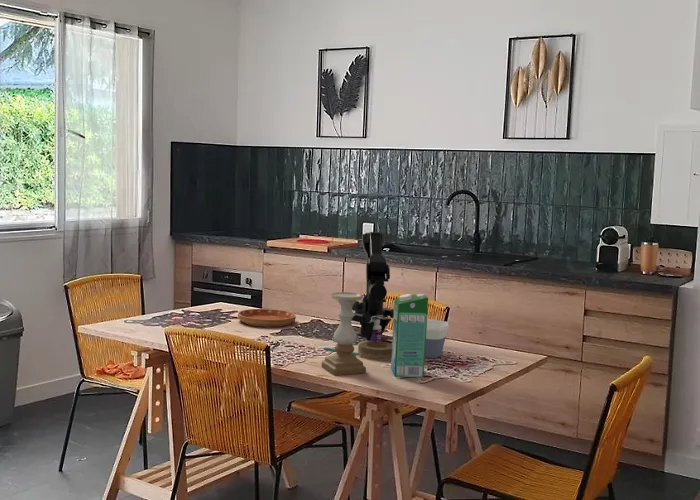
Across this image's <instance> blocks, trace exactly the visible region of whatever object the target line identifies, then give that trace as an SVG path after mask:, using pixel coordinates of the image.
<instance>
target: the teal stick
mask: <svg viewBox="0 0 700 500" xmlns="http://www.w3.org/2000/svg"><path fill="white" fill-rule="evenodd" d="M323 350H324V351H325V350H326V351H330V352H336V351H335V348H332V347H323ZM336 353H337V352H336ZM352 354H353V355H355V356H359V353H358V352H356V351H353V352H352Z"/></svg>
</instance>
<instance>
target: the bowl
mask: <svg viewBox="0 0 700 500" xmlns="http://www.w3.org/2000/svg"><path fill="white" fill-rule="evenodd" d="M449 328H450V324H449V322H448V321H444V320H439V319H432V318H431V319H429V318H427V328H426V345H425V359H431V360H432V359H437V358H439V357H440V356H441V355H442V353H443V349H444V344H445V343H446V338H447V335H448V331H449Z"/></svg>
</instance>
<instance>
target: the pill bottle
mask: <svg viewBox="0 0 700 500" xmlns="http://www.w3.org/2000/svg"><path fill="white" fill-rule="evenodd" d="M372 322H375V323H374V327H373V330H372V334H371V338H370V340H367V339H366V338H365V342H368V341H377V342H382V335H381V326H380V325H379V324H380V319H377V318H372Z"/></svg>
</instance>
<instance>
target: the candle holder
mask: <svg viewBox="0 0 700 500" xmlns="http://www.w3.org/2000/svg"><path fill="white" fill-rule="evenodd" d="M330 297H331V299H334V300H338V301H337V302H338V304H339V305H340V311H339V312H338V313H337V316H338V318H339V320H340V323H339V325H338V327H337V328H336V329H335V331H334V333H333V340H334V342H335V343H336V345H335V346H334V349H335V351H336V353H334V354H332V355H331V356H325V357H324V360H322V361H321V368H322V369H324V370H325V371H327V372H328V373H329V374H331V375H333V376H347V374H348V375H362V374H367V367H366V366H365V365H364V362H363V361H362V360H361V359H359V358H358V357H357V355H353V354H352V352H355V346H354V345H353V344H354V343H356V341H357V339H358V338H357V337H358V336H357V335H358V334H357V333H356V331H355V329H354V327H353V324H352V322H353V321H352V319H353V317H354V314H353V313H354V311H353V310H352V307H353V305H354V304H355V301H362V300H363V298H364V295H363V294H361V293H357V292H348V291H338V292H336V291H335V292H332V293H330ZM335 351H334V352H335Z"/></svg>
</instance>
